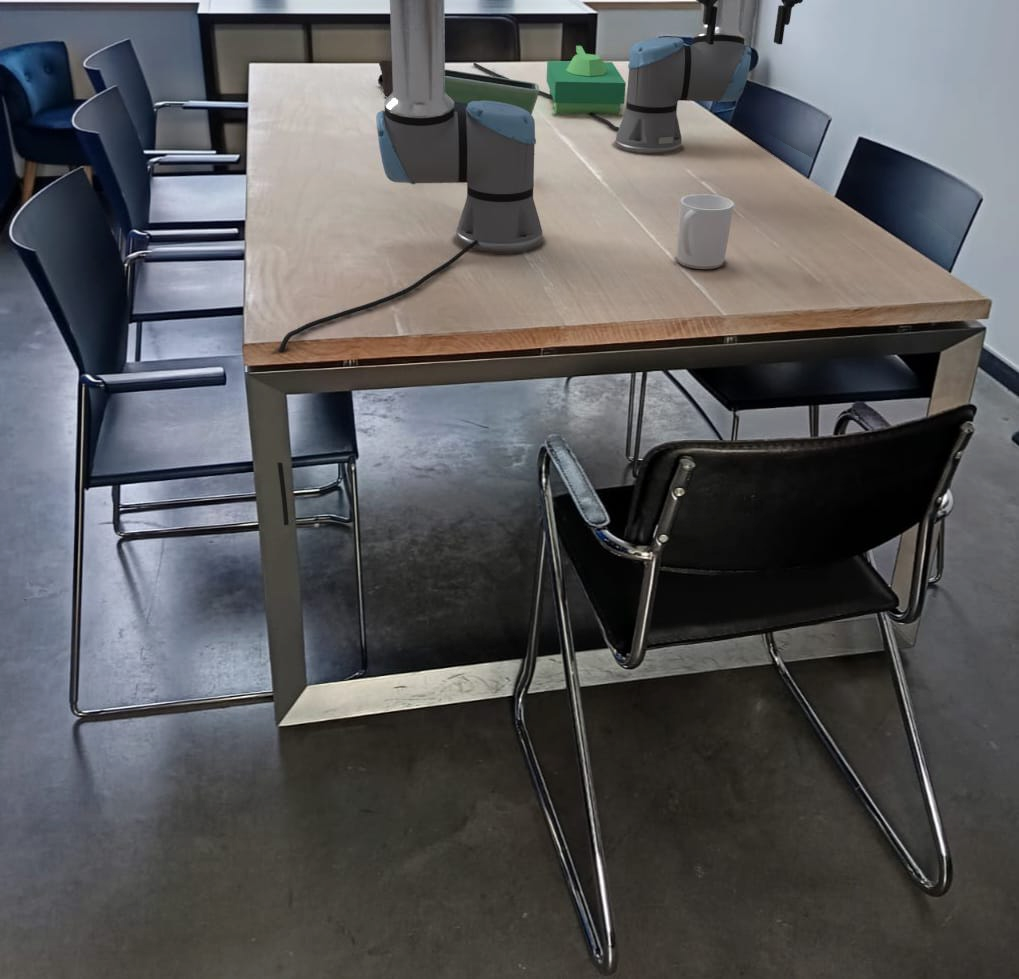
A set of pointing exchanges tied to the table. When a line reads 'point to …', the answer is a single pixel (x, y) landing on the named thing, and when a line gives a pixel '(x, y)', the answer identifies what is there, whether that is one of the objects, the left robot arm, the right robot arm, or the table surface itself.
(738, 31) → the right robot arm
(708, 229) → the mug
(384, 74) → the axe head
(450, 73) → the planter
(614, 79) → the toy tank
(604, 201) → the table surface
